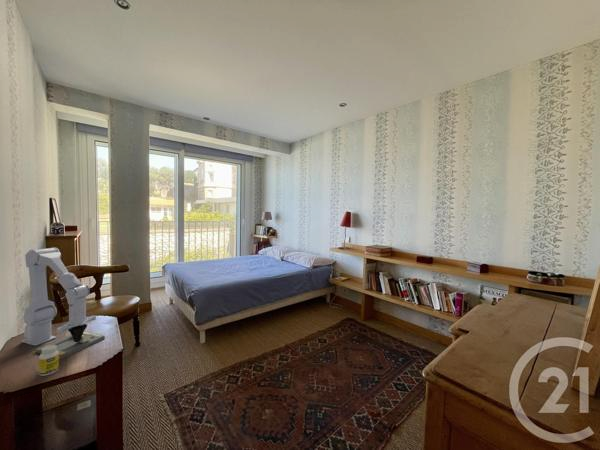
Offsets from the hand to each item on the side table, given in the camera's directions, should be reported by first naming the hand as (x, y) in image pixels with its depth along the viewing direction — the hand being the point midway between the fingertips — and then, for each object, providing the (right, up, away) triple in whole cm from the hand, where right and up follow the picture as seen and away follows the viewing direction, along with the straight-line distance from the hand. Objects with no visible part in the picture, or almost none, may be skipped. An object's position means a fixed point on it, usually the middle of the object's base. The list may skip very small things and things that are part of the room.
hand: (77, 341), depth 112 cm
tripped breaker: (+1, -1, +3) cm, 3 cm away
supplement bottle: (+4, -4, -17) cm, 18 cm away
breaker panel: (-4, -3, +2) cm, 5 cm away
